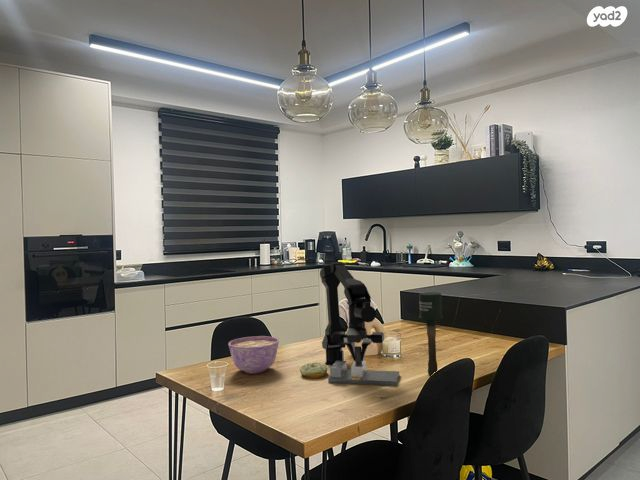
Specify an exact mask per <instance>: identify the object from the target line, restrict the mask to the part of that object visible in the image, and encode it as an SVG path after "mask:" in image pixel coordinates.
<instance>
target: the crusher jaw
mask: <svg viewBox="0 0 640 480" xmlns="http://www.w3.org/2000/svg"><path fill="white" fill-rule="evenodd" d="M361 354H362V346H361V345H360V346H357V345H355V361H354V362H353V363H352V365H351V366H350V370H351V376H352V378H363V376H364V375H365V373H366V370H367V360H363V361H362V360H361Z"/></svg>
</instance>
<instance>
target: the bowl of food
mask: <svg viewBox="0 0 640 480" xmlns="http://www.w3.org/2000/svg"><path fill="white" fill-rule="evenodd" d="M279 341H280V340H279V338H277V337H275V336H269V335H268V336H266V335H258V336H257V335H256V336H245V337H240V338H235V339H232V340H230V341H228V349H229V352H230V356H231V359H232V362H233V365H234V366H235V367H236V368H237V369H239V370H240V371H243V372H245V374H246V373H247V374H259V373H263V372H265V371H266V370H268V369H269V368H271V366H273V364H274V363H275V361H276V358H277V353H278V348H279Z"/></svg>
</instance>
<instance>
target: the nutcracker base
mask: <svg viewBox="0 0 640 480" xmlns="http://www.w3.org/2000/svg"><path fill="white" fill-rule="evenodd" d="M347 362H348V361H347V360H344V361H336V362H335V363H334V364H331V366H330V367H329V377H328V378H327V381H328V383H329V384H347V385H349V384H351V385H371V386H390V387H391V386H393V387H394V386H395V387H396V386H397V383H398V381H399V378H400V371H399V370H398V371H395V370H371V369H370V370H369V369H368V370H367V369H366V373H365V375H364V376H363V378H352V376H351V369H348V367H347V364H348V363H347Z"/></svg>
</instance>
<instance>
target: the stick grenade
mask: <svg viewBox="0 0 640 480" xmlns="http://www.w3.org/2000/svg"><path fill="white" fill-rule="evenodd" d="M418 299H419V300H418V301H419V316H418V319H420V320H424V321H425V322H426V335H427V345H428V346H427V349H428V361H427V362H428V363H427V375H428V376H429V377H432V376H431V375H432V374H433V373H434V372H436V371H437V370H438V362H437V347H436V345H437V344H436V336H437V327H436V326H437V320H438V321H439V320H442V319H444V316H443V311H442V310H443V307H442V305H443V304H442V293H440V292H437V291H436V292H433V291H431V292H430V291H429V292H428V291H427V292H421V293H419V294H418ZM438 371H439V370H438Z"/></svg>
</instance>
